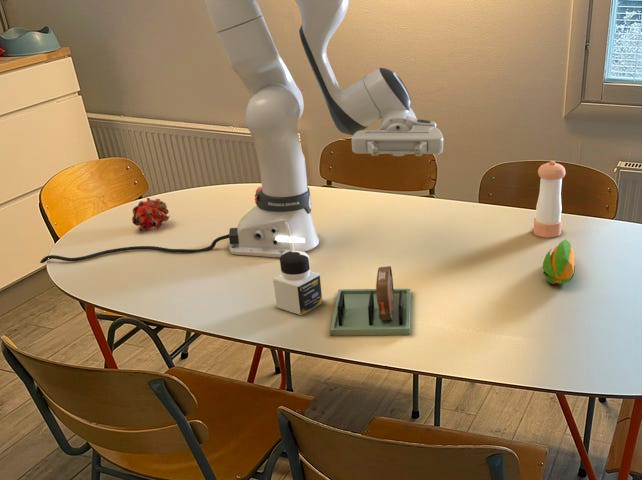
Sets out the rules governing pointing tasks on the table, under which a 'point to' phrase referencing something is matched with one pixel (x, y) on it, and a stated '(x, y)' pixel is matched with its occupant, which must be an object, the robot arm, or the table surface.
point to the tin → (385, 293)
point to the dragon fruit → (150, 214)
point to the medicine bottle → (297, 284)
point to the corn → (559, 263)
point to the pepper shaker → (549, 201)
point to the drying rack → (369, 314)
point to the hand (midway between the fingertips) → (396, 152)
